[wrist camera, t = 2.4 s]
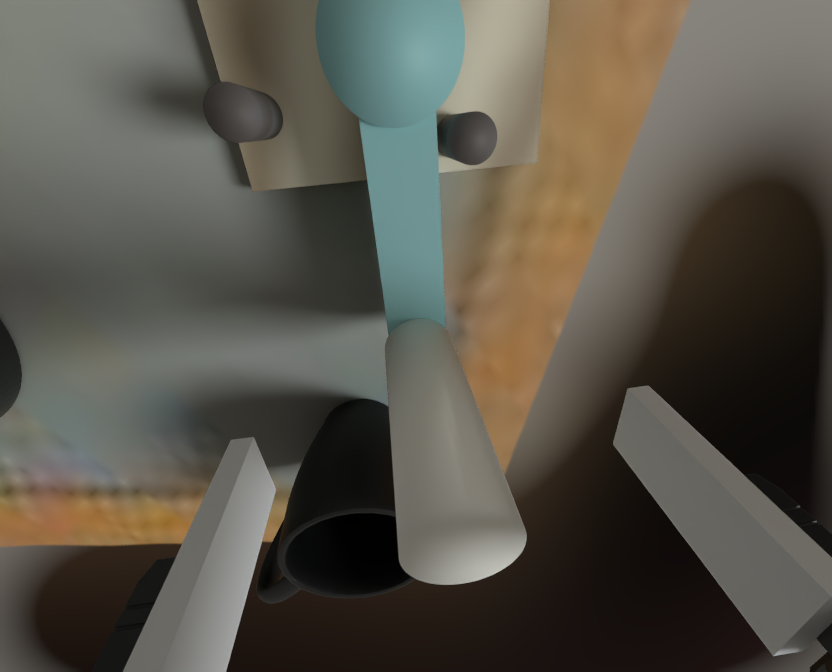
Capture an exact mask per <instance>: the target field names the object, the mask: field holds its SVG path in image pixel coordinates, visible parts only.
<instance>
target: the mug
mask: <svg viewBox="0 0 832 672" xmlns="http://www.w3.org/2000/svg"><path fill="white" fill-rule="evenodd" d="M281 573H282V574H283V575H284V577H283V578H282V579H281V580H280V576H281ZM279 580H280V581H279ZM413 580H415V578H413V577H412V576H410V575H409V574H407V573H406V572H405V571H404V570H403V568H402V567H401V565H400V562H399V555H398V540H397V525H396V510H395V495H394V480H393V465H392V450H391V435H390V420H389V407H387V406H386V405H384V404H382V403H380V402H377V401H373V400H364V399H360V400H353V401H349V402H346V403H343V404H341V405H340V406H338V407H336V408H335V409H334V410H333V411H332V412H330V414H329V415H328V417H327V418H326V420H325V423H324V424H323V426H322V428H321V429H320V431H319V433H318V434H317V436H316V437H315V439H314V441H313V442H312V444H311V446H310V448H309V450H308V452H307V454H306V456H305V457H304V460H303V462H302V464H301V467H300V469H299V471H298V474H297V477H296V480H295V482H294V485H293V488H292V491H291V494H290V497H289V501H288V505H287V510H286V514H285V518H284V520H283V522H282V524H281V526H280V528H279V530H278V532H277V534H276V536H275V538H274V540H273V542H272V544H271V546H270V549H269V551H268V553H267V555H266V557H265V559H264V562H263V565H262V567H261V570H260V573H259V577H258V582H257V594H258V596H259V598H260V599H261V600H263V601H264V602H267V603H277V602H281V601H284V600H286V599H287V598H289V597H291V596H292V595H294V594H295V593H297V592H298V591H299V590H300V589H303V590H305V591H308V592H311V593H314V594H317V595H322V596H327V597H335V598H363V597H368V596H374V595H380V594H383V593H387V592H390V591H393V590H396V589H398V588H400V587H403V586H405V585H407V584H409V583H410V582H412V581H413Z"/></svg>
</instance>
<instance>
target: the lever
mask: <svg viewBox="0 0 832 672" xmlns="http://www.w3.org/2000/svg"><path fill="white" fill-rule="evenodd" d="M315 24H316V43H317V50H318V54H319V59H320V62H321V65H322V68H323V71H324V74H325V76H326V78H327V80H328V82H329V84H330V86H331V88H332V89H333V91H334V93H335V94H336V95H337V97H338V98H339V99H340V101H341V102H342V103H343V104H344V105H345V106H346V107H347V108H348V109H349V110H350V111H351V112H353V113H354V114H355V115H356V116H358V117H359V123H360V130H361V138H362V145H363V152H364V160H365V167H366V174H367V181H368V189H369V196H370V203H371V210H372V218H373V225H374V232H375V239H376V247H377V254H378V261H379V268H380V276H381V283H382V290H383V297H384V305H385V312H386V319H387V326H388V334H389V336H388V338H387V341H386V344H385V360H386V375H387V390H388V405H389V420H390V435H391V450H392V465H393V480H394V495H395V510H396V525H397V540H398V555H399V562H400V565H401V567H402V568H403V570H404V571H405V572H406V573H407V574H409V575H410V576H412V577H413V578H415V579H418V580H420V581H423V582H427V583H432V584H441V585H444V584H445V585H451V584H462V583H467V582H473V581H476V580H480V579H483V578H485V577H488V576H490V575H493V574H495V573H497V572H499V571H501V570H502V569H504V568H506V567H507V566H508V565H510V564H511V563H512V562H513V561H514V560H515V559H516V558H517V557H518V556H519V555H520V554H521V552H522V551H523V549H524V547H525V544H526V539H527V535H526V530H525V528H524V525H523V523H522V520H521V517H520V515H519V512H518V509H517V507H516V504H515V502H514V499H513V496H512V494H511V491H510V489H509V486H508V483H507V481H506V478H505V476H504V473H503V470H502V468H501V465H500V463H499V460H498V458H497V455H496V452H495V450H494V447H493V445H492V442H491V439H490V437H489V434H488V432H487V429H486V426H485V424H484V421H483V419H482V416H481V413H480V411H479V408H478V406H477V403H476V400H475V398H474V395H473V393H472V390H471V388H470V385H469V382H468V380H467V377H466V375H465V372H464V369H463V367H462V364H461V362H460V359H459V356H458V354H457V351H456V349H455V346H454V343H453V341H452V338H451V336H450V334H449V332H448V331H447V329H446V321H445V299H444V276H443V254H442V232H441V209H440V187H439V164H438V142H437V120H436V111H437V110H438V109H439V108H440V107H441V105H442V104H443V103H444V102H445V101H446V99H447V98H448V96H449V95H450V93H451V92H452V90H453V88H454V86H455V84H456V82H457V79H458V76H459V73H460V70H461V66H462V62H463V57H464V50H465V26H464V19H463V13H462V9H461V5H460V1H459V0H319V1H318V6H317V12H316V23H315Z"/></svg>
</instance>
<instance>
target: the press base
mask: <svg viewBox="0 0 832 672" xmlns="http://www.w3.org/2000/svg"><path fill="white" fill-rule="evenodd" d="M318 1H319V0H197V2H198V5H199V9H200V12H201V15H202V19H203V22H204V26H205V29H206V33H207V36H208V40H209V43H210V46H211V50H212V53H213V57H214V60H215V64H216V67H217V70H218V74H219V77H220V81H221V82H219V83H216V84H214V85H212V86H211V87H210V88H209V89H208V91H207V92H206V94H205V97H204V103H203V105H204V113H205V117H206V119H207V121H208V123H209V125H210V127H211V128H212V129H213V130H214V132H215V133H216V134H218V135H219V136H220V137H222V138H223V139H225V140H227V141H230V142H233V143H239V146H240V150H241V153H242V157H243V160H244V163H245V167H246V170H247V174H248V177H249V181H250V184H251V187H252V191H253V192H255V191H265V190H275V189H284V188H294V187H304V186H314V185H324V184H334V183H344V182H353V181H363V180H367V174H366V167H365V160H364V152H363V145H362V138H361V130H360V123H359V117H358V116H356V115H355V114H354V113H353V112H351V111H350V110H349V109H348V108H347V107H346V106H345V105H344V104H343V103H342V102H341V101H340V99H339V98H338V97H337V95H336V94H335V93H334V91H333V89H332V88H331V86H330V84H329V82H328V80H327V78H326V76H325V74H324V71H323V68H322V65H321V62H320V59H319V54H318V50H317V43H316V24H315V23H316V12H317V6H318ZM459 1H460V5H461V9H462V13H463V19H464V26H465V50H464V57H463V62H462V66H461V70H460V73H459V76H458V79H457V82H456V84H455V86H454V88H453V90H452V92H451V93H450V95H449V96H448V98H447V99H446V101H445V102H444V103H443V104H442V105H441V107H440V108H439V109H438V110H437V111H436V120H437V142H438V164H439V173H442V172H452V171H462V170H471V169H481V168H491V167H501V166H511V165H521V164H531V163H537V154H538V141H539V128H540V116H541V103H542V91H543V78H544V66H545V53H546V41H547V28H548V16H549V3H550V0H459Z"/></svg>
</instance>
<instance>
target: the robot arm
mask: <svg viewBox="0 0 832 672" xmlns="http://www.w3.org/2000/svg"><path fill="white" fill-rule="evenodd" d="M21 378H22V373H21V364H20V359H19V356H18V353H17V350H16V347H15V345H14V342H13V340H12V338H11V336H10V334H9V333H8V331H7V329H6V328H5V326H4V325H3V323H2V322H1V320H0V417H1V416H3V415H4V414H5V413H6V412H7V411H8V410H9V409H10V408H11V406H12V405H13V404H14V402H15V400H16V398H17V396H18V394H19V391H20V387H21ZM613 445H614V446H615V447H616V448H617V450H618V451H619V453H620V454H621V455H622V456H623V457H624V459H625V460H626V462H627V463H628V464H629V466H630V467H631V468H632V470H633V471H634V472H635V474H636V475H637V476H638V478H639V479H640V480H641V482H642V483H643V484H644V486H645V487H646V488H647V490H648V491H649V492H650V493H651V495H652V496H653V498H654V499H655V500H656V501H657V503H658V504H659V505H660V507H661V508H662V509H663V511H664V512H665V513H666V515H667V516H668V517H669V519H670V520H671V521H672V523H673V524H674V525H675V527H676V528H677V529H678V530H679V532H680V533H681V534H682V536H683V537H684V539H685V540H686V541H687V542H688V544H689V545H690V546H691V548H692V549H693V550H694V552H695V553H696V554H697V556H698V557H699V558H700V560H701V561H702V562H703V564H704V565H705V566H706V567H707V569H708V570H709V572H710V573H711V574H712V576H713V577H714V578H715V579H716V581H717V582H718V583H719V585H720V586H721V587H722V589H723V590H724V591H725V593H726V594H727V595H728V597H729V598H730V599H731V601H732V602H733V603H734V605H735V606H736V607H737V608H738V610H739V611H740V613H741V614H742V615H743V616H744V618H745V619H746V620H747V622H748V623H749V624H750V626H751V627H752V628H753V630H754V631H755V632H756V633H757V635H758V636H759V638H760V639H761V640H762V641H763V643H764V644H765V646H766V647H767V648H768V649H769V651H770V652H771V654H772V655H773V656H776V655H782V654H788V653H794V652H800V651H805V650H806V649H807V648H808V647H809V646H810V645H811V644H812V643H813V642H814V641H815V640H816V639H817V640H818V641H819V642H820V643H821V644H822V646H823V647H824V648H825V649H826V650H827V651H828V652H827V653H826V654H825V655H824V656H822V657H821V658H820V659H819V660H818V661H817V662H815V663H814V664H813V665H812V666H811V667H810V672H832V534H831V533H829V531H827V530H826V529H825V528H824V527H823V526H822V525H818V524H817V521H816V520H815V519H814V518H813V517H812V516H811V515H809V514H808V513H807V512H806V511H805V510H802V509H801V508H800V506H799V505H798V504H797V503H796V502H795V501H794V500H792V499H791V498H790V497H789V496H788V495H787V494H786V493H784V492H783V491H782V490H781V489H780V488H779V487H777V486H775V485H774V484H772V483H770V482H769V481H767V480H765V479H764V478H761V477H760V476H759V475H757V474H750V475H743V474H742V473H741V472H740V471H739V470H738V469H737V468H736V467H735V466H733V465H732V464H731V463H730V462H729V461H728V460H727V459H726V458H725V457H724V456H723V455H722V454H721V453H720V452H718V450H716V449H715V448H714V447H713V446H712V445H711V444H710V443H709V442H708V441H707V440H706V439H705V438H704V437H703V436H702V435H700V434H699V433H698V432H697V431H696V430H695V429H694V428H693V427H692V426H691V425H690V424H689V423H688V422H687V421H686V420H684V419H683V418H682V417H681V416H680V415H679V414H678V413H677V412H676V411H675V410H674V409H672V407H671V406H670V405H668V404H667V403H666V402H665V401H664V400H663V399H662V398H661V397H660V396H659V395H658V394H657V393H656V392H654V390H652V389H651V388H650V387H649V386H643V387H636V388H628V389H627V393H626V397H625V401H624V405H623V408H622V412H621V416H620V419H619V423H618V427H617V431H616V435H615V438H614V442H613ZM275 492H276V489H275V486H274V484H273V481H272V479H271V477H270V474H269V472H268V470H267V467H266V465H265V462H264V460H263V458H262V455H261V453H260V451H259V448H258V446H257V443H256V441H255V439H254V437H249V438H241V439H234V440H231V441H230V443H229V445H228V447H227V449H226V451H225V454H224V456H223V458H222V460H221V462H220V464H219V466H218V469H217V471H216V473H215V475H214V477H213V479H212V481H211V484H210V486H209V488H208V490H207V492H206V494H205V496H204V499H203V501H202V503H201V505H200V507H199V509H198V511H197V514H196V516H195V518H194V520H193V522H192V524H191V527H190V529H189V531H188V533H187V535H186V537H185V539H184V542H183V544H182V546H181V548H180V550H179V552H178V554H177V557H173V558H166V559H159V560H157V561H156V562H155V563H154V564H153V565H152V566H151V568H150V569H149V570H148V571H147V572H146V573H145V575H144V576H143V577H142V578H141V579H140V580H139V582H138V583H137V585H136V587H135V589H134V591H133V593H132V595H131V597H130V599H129V601H128V602H127V604H126V609H125V611H123V612H122V614H121V616H120V618H119V620H118V621H117V623H116V626H115V630H114V632H112V633H111V635H110V637H109V639H108V641H107V642H106V644H105V646H104V648H103V650H102V652H101V654H100V656H99V658H98V660H97V661H96V664H95V665H94V667H93V669H92V671H91V672H226V669H227V666H228V662H229V659H230V655H231V651H232V648H233V644H234V640H235V637H236V633H237V629H238V625H239V622H240V618H241V615H242V611H243V608H244V604H245V600H246V597H247V593H248V590H249V586H250V582H251V579H252V575H253V572H254V568H255V564H256V561H257V557H258V553H259V549H260V546H261V543H262V539H263V535H264V532H265V528H266V524H267V521H268V517H269V514H270V510H271V506H272V503H273V499H274V495H275Z"/></svg>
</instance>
